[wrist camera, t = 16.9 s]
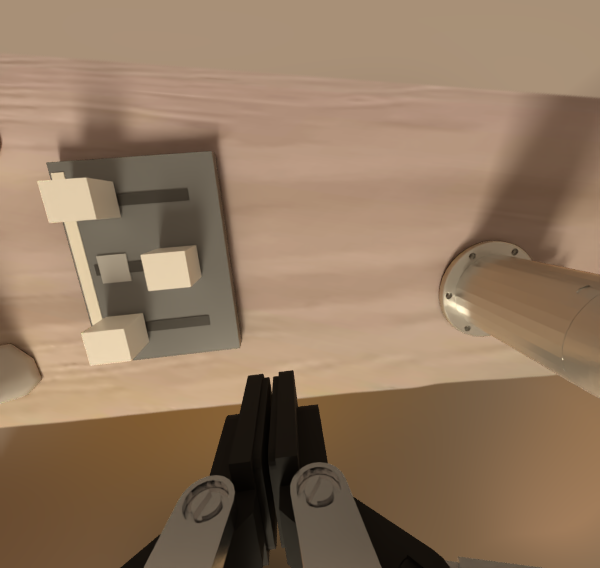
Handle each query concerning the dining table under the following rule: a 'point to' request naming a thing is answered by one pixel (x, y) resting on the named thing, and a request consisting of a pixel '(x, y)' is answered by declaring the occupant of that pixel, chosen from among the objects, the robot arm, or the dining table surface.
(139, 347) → the cream cube
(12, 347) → the flask
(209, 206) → the switch panel
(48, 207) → the tab
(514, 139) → the dining table surface
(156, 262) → the tab
